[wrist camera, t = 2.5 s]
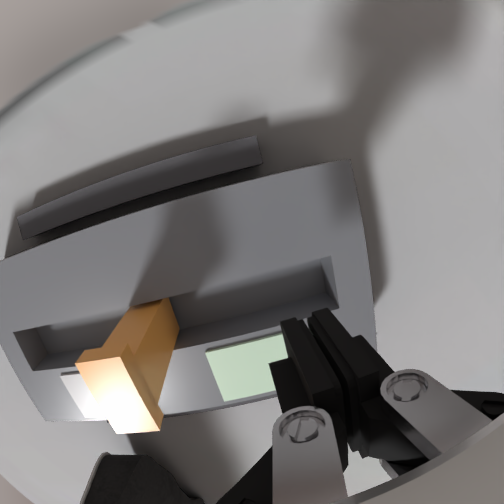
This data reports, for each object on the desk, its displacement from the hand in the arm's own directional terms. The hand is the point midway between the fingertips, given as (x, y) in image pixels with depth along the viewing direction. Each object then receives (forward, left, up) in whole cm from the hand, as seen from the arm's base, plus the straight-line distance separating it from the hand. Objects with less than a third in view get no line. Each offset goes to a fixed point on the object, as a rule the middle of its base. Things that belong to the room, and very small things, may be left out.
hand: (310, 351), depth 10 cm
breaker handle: (+7, 0, -8) cm, 10 cm away
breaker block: (+7, 0, -10) cm, 12 cm away
